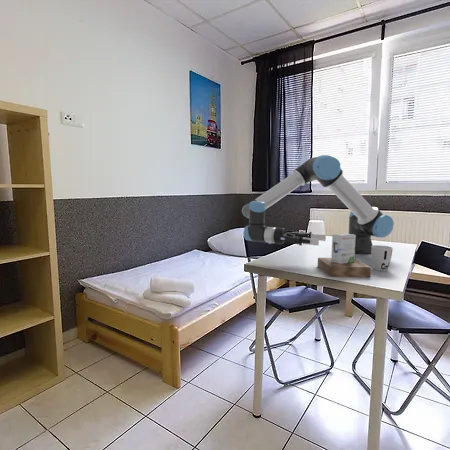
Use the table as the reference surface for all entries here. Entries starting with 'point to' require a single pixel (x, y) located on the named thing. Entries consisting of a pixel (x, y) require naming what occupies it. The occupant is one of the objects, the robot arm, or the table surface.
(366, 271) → the walnut stand
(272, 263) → the table surface
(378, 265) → the cup
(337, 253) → the ink box
